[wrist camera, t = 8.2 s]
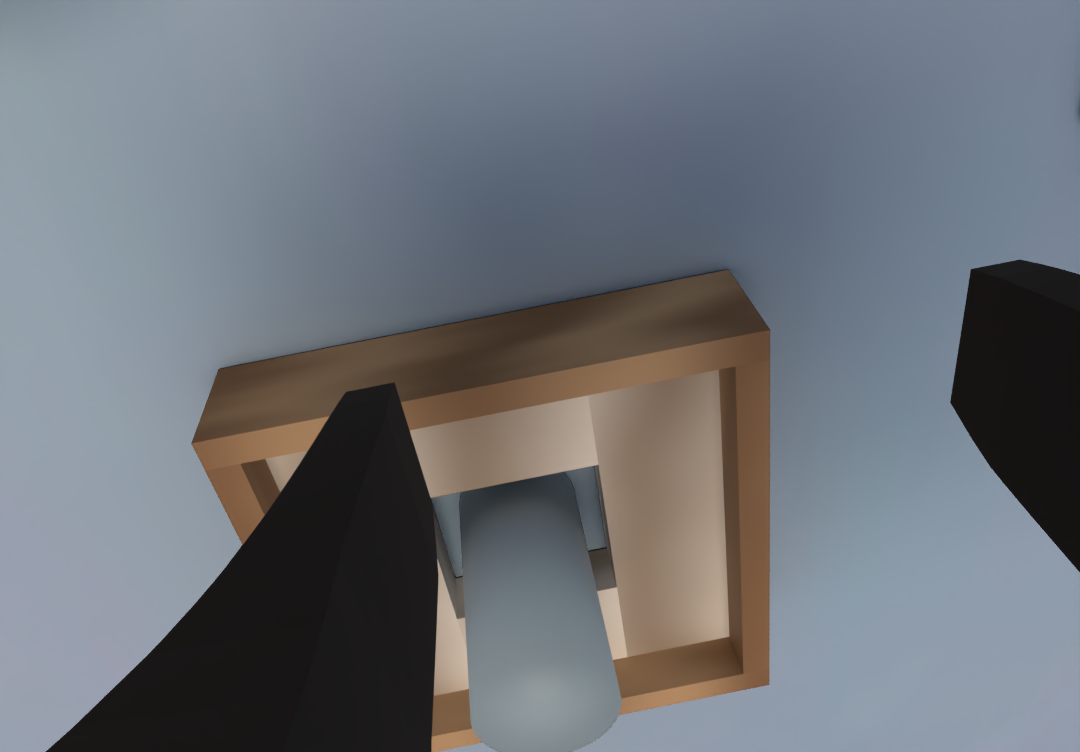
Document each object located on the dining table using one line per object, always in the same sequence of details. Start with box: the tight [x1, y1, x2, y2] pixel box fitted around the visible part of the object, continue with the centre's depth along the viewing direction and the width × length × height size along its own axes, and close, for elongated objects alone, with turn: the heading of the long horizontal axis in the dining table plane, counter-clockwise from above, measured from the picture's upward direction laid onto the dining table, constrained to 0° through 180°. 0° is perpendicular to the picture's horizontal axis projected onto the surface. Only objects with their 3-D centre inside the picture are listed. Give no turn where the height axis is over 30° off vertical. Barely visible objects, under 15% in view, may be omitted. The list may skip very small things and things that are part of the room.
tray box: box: [191, 270, 770, 752], centre depth 23 cm, size 13×13×3 cm
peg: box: [459, 472, 622, 752], centre depth 22 cm, size 3×3×7 cm
